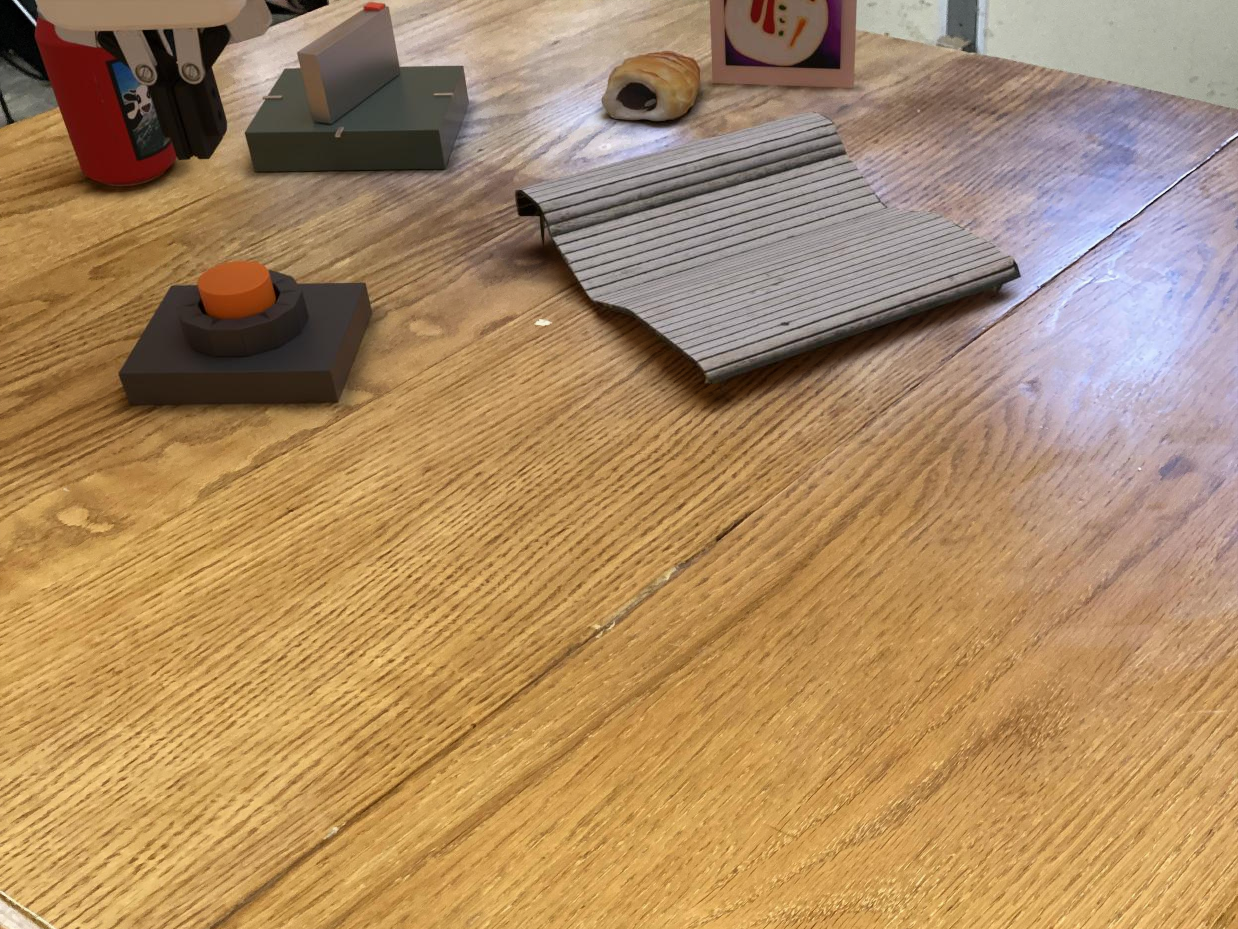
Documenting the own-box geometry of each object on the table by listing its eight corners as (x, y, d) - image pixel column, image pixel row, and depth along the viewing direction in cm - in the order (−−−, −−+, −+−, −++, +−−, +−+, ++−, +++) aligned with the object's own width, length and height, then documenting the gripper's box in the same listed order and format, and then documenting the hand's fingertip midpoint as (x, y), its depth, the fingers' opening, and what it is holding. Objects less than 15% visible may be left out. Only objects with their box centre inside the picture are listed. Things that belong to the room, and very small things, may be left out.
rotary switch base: (249, 179, 103) (237, 136, 101) (295, 100, 114) (285, 60, 112) (444, 176, 103) (437, 133, 101) (472, 97, 114) (466, 57, 112)
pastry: (643, 74, 117) (640, 26, 114) (720, 84, 115) (719, 35, 112) (597, 119, 110) (593, 69, 108) (679, 130, 108) (677, 80, 106)
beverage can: (184, 182, 103) (134, 11, 95) (86, 199, 101) (26, 26, 93) (176, 145, 108) (127, -20, 100) (82, 161, 106) (24, -6, 98)
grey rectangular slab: (331, 124, 103) (315, 51, 99) (312, 121, 103) (295, 48, 100) (401, 73, 110) (388, 2, 106) (382, 70, 110) (369, 0, 107)
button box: (129, 406, 82) (107, 345, 79) (181, 316, 89) (162, 258, 86) (338, 403, 81) (323, 342, 79) (372, 313, 89) (359, 255, 86)
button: (196, 322, 81) (188, 295, 80) (216, 287, 84) (208, 260, 83) (266, 321, 81) (258, 294, 80) (283, 286, 84) (276, 259, 83)
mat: (707, 413, 80) (704, 339, 77) (519, 249, 95) (510, 182, 92) (1021, 294, 89) (1029, 224, 86) (805, 162, 104) (805, 98, 101)
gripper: (-118, -220, 61) (37, 184, 74) (226, -232, 61) (324, 176, 73) (-46, -257, 67) (87, 124, 79) (270, -268, 67) (354, 117, 79)
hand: (201, 148), depth 76 cm, fingers closed
